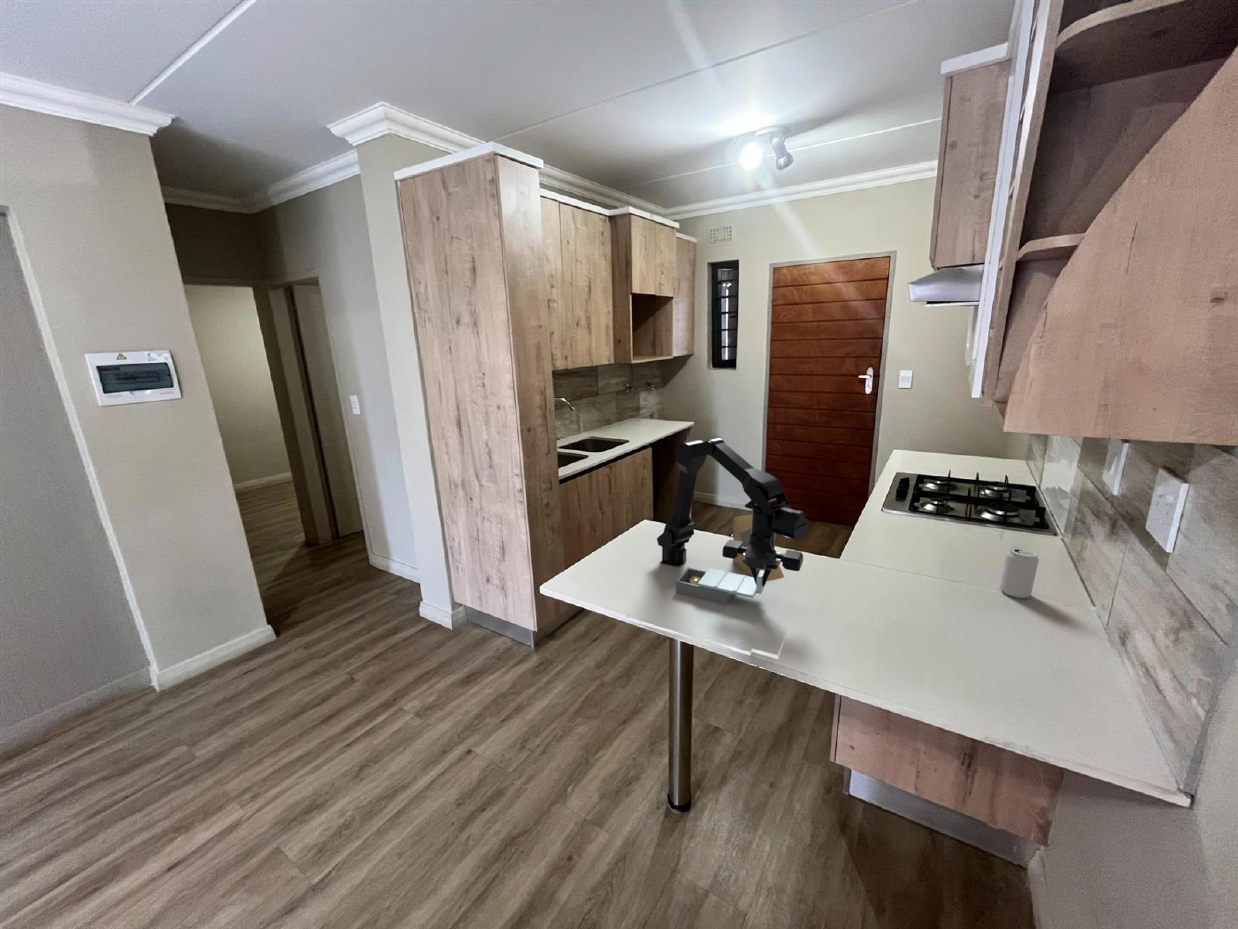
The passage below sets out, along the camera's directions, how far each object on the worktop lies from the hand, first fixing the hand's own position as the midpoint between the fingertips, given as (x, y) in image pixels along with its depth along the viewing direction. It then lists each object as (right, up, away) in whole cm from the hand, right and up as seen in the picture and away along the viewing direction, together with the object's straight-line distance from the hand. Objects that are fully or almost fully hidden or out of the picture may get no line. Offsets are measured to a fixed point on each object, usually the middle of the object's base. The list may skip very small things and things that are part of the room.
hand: (760, 585), depth 122 cm
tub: (-12, -4, +8) cm, 15 cm away
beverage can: (+68, -3, +4) cm, 68 cm away
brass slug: (-15, -3, +9) cm, 18 cm away
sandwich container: (+5, -1, +20) cm, 20 cm away
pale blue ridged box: (-6, -1, +4) cm, 7 cm away
